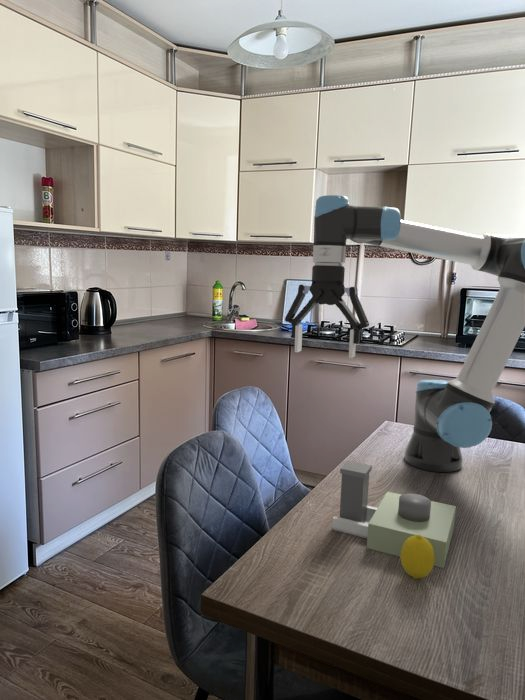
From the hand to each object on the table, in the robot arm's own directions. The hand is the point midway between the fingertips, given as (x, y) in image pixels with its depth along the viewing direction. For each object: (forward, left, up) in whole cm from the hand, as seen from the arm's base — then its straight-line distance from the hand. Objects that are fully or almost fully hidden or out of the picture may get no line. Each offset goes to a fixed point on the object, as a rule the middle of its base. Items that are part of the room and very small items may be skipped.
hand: (324, 354), depth 125 cm
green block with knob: (-17, +23, -32) cm, 43 cm away
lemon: (-20, +38, -32) cm, 53 cm away
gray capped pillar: (-9, +21, -31) cm, 39 cm away
